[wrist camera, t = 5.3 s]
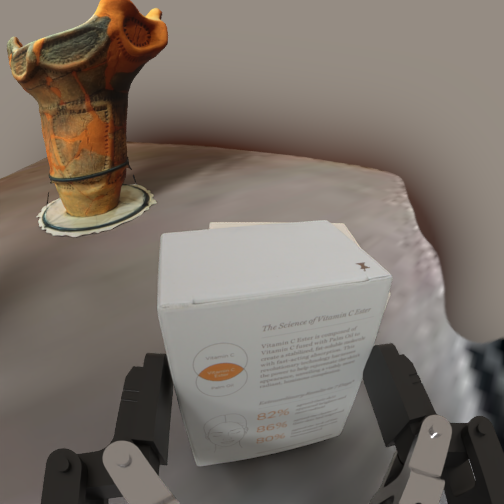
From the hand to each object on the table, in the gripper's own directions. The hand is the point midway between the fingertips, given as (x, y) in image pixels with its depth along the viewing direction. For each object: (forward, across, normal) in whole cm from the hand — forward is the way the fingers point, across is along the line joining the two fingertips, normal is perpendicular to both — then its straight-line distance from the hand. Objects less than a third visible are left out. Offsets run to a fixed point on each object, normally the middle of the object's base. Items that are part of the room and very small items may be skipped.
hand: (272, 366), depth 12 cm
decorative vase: (+32, +20, +8) cm, 39 cm away
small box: (+1, 0, +7) cm, 7 cm away
